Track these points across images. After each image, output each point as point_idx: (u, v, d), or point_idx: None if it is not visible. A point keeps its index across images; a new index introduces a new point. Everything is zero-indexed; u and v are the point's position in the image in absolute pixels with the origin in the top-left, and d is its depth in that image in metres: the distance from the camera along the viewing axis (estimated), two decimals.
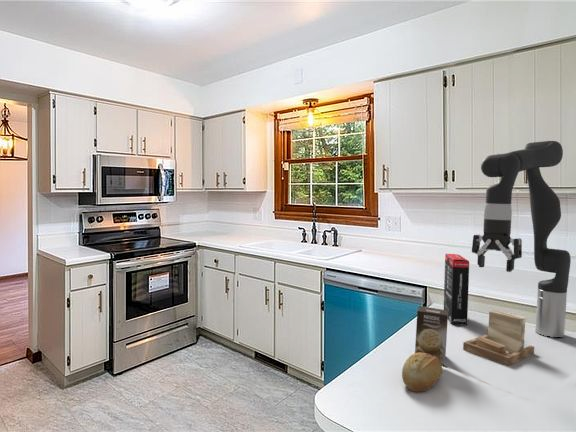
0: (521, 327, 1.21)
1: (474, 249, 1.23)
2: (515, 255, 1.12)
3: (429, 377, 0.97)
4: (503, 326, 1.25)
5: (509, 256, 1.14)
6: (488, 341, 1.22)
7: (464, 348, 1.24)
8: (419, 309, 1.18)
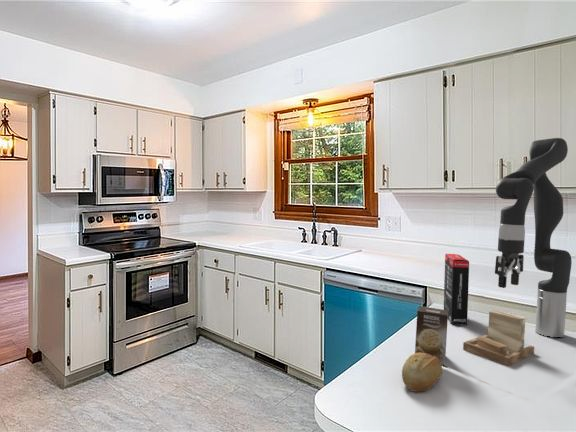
0: (521, 327, 1.21)
1: None
2: (522, 269, 1.28)
3: (429, 377, 0.97)
4: (503, 326, 1.25)
5: (519, 271, 1.27)
6: (489, 341, 1.21)
7: (464, 348, 1.24)
8: (419, 309, 1.18)
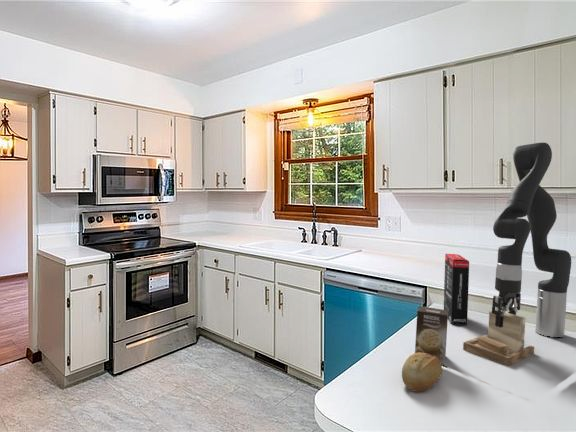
0: (521, 327, 1.21)
1: (500, 311, 1.21)
2: (519, 307, 1.28)
3: (429, 377, 0.97)
4: (503, 326, 1.25)
5: (516, 309, 1.28)
6: (490, 340, 1.21)
7: (464, 348, 1.24)
8: (419, 309, 1.18)
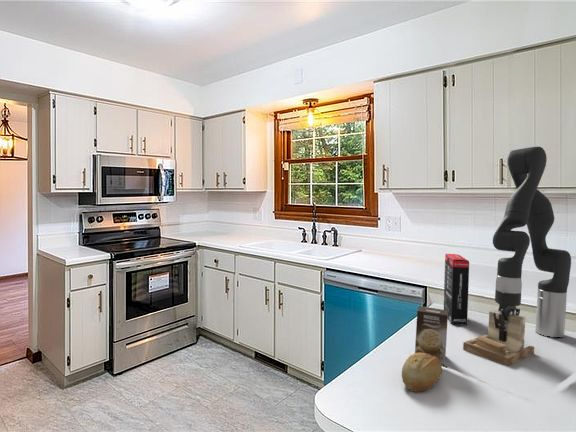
0: (521, 327, 1.21)
1: (504, 326, 1.23)
2: None
3: (429, 377, 0.97)
4: None
5: None
6: (488, 340, 1.22)
7: (464, 348, 1.24)
8: (419, 309, 1.18)
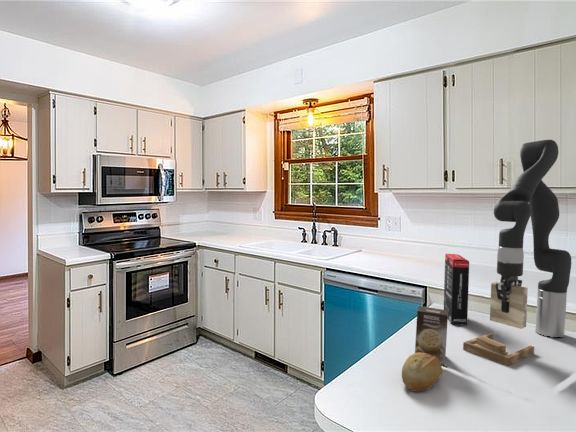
0: (523, 297, 1.21)
1: (506, 297, 1.22)
2: None
3: (429, 377, 0.97)
4: None
5: None
6: (488, 340, 1.22)
7: (464, 348, 1.24)
8: (419, 309, 1.18)
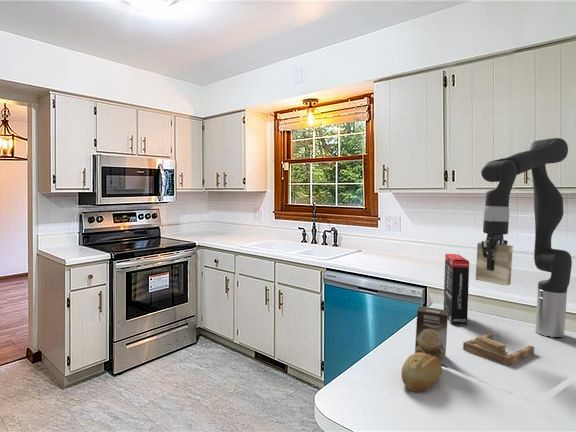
0: (508, 254, 1.23)
1: (492, 254, 1.24)
2: None
3: (428, 377, 0.97)
4: None
5: None
6: (488, 340, 1.22)
7: (464, 348, 1.24)
8: (419, 309, 1.18)
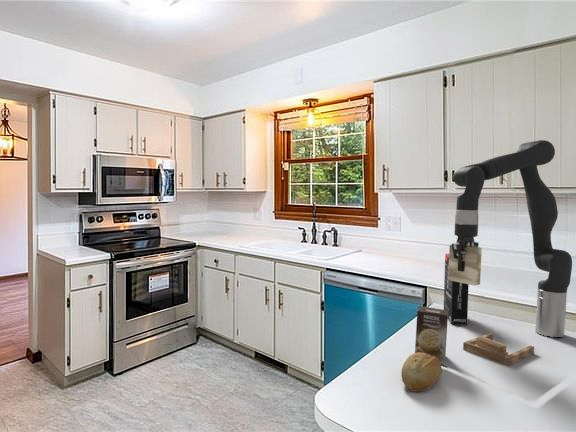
0: (477, 256, 1.29)
1: (461, 256, 1.31)
2: None
3: (428, 377, 0.97)
4: None
5: None
6: (488, 340, 1.22)
7: (464, 348, 1.24)
8: (419, 309, 1.18)
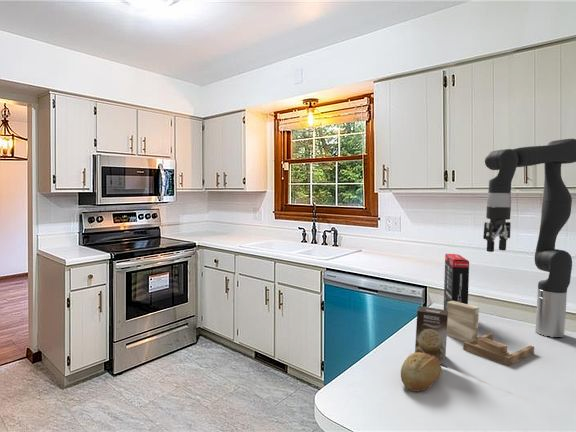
0: (474, 316, 1.30)
1: (491, 236, 1.30)
2: (509, 235, 1.37)
3: (428, 377, 0.97)
4: (458, 316, 1.34)
5: (507, 237, 1.36)
6: (489, 341, 1.21)
7: (464, 348, 1.24)
8: (419, 309, 1.18)
